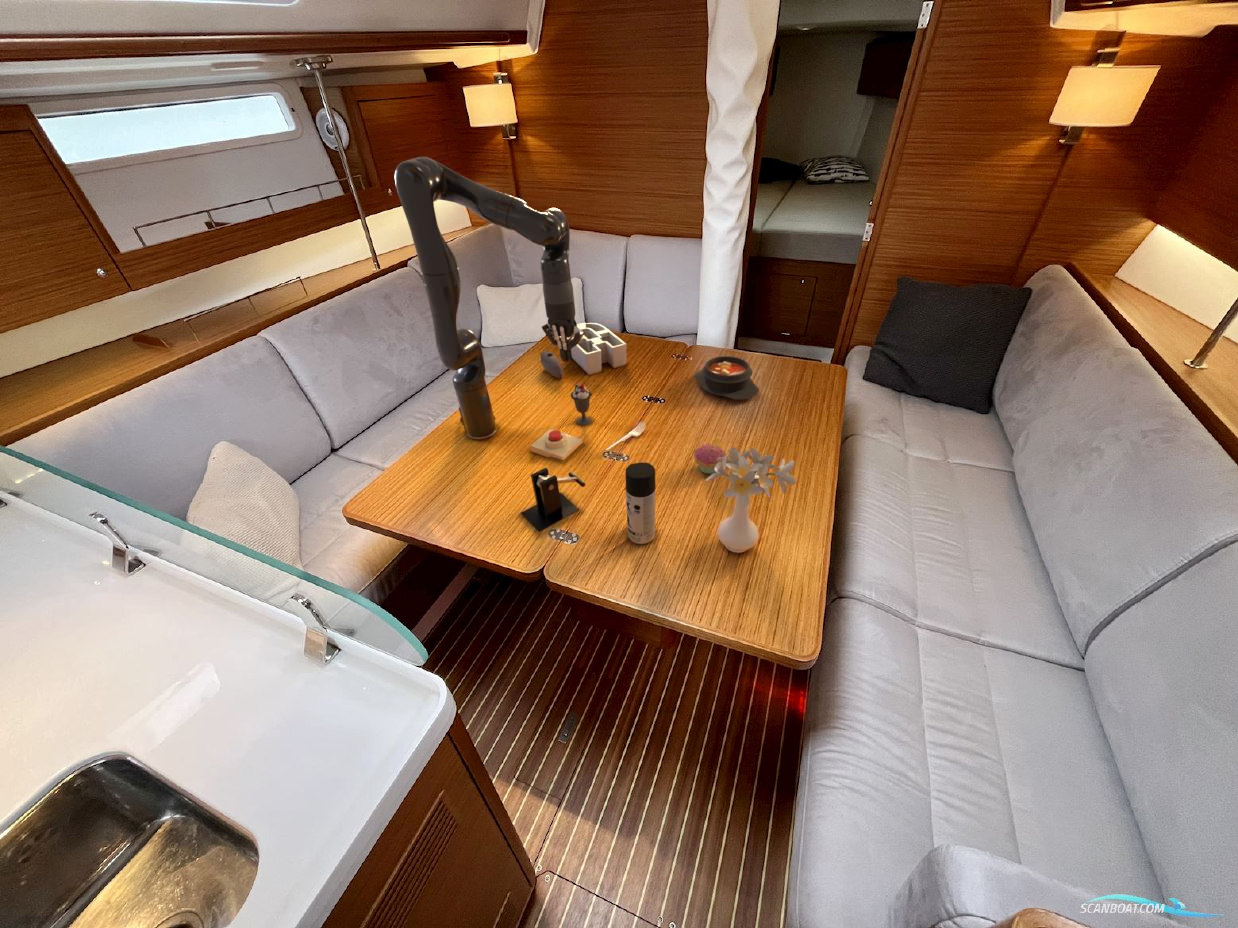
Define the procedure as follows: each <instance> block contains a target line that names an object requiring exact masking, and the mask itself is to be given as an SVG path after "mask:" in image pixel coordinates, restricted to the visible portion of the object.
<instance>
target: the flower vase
mask: <svg viewBox="0 0 1238 928" xmlns="http://www.w3.org/2000/svg"><path fill="white" fill-rule="evenodd" d="M725 454H726V455H725V457H720V458H717V462H718V463H717V464H716V466H715V471H716V472H715V473H712V474H709V476H708V477H707V478H706V479H705V482H708V483H709V482H710V481H711V482H712V481H713V480H715V479H719V478H722V477H727V479H728V480H729V482H730V484H732V486H731V487H729V488H728V489H726V490H725V492H724V494H723V495H724V497H725V498H728V499H731V498H734V497H735V501H734V507H733V512H732V513H731V515H730V516H728V517H726V518H724V519H723V520H722V521H721V522H720V523H719V525H718V527H717V531H716V532H717V538H718V539H719V541H720V543H721V544H722V545H723V546H724V547H725V548H726V549H727V550H728V551H730V552H732V553H736V554H737V553H738V554H740V553H744V552H746V551H748V550H750V549H752V548H754V546H755V545H757V543H758V541H759V537H760V533H759V528H758V526H757V525H756V523H754V522H753V520H752V519H750V516H749V515H750V514H749V513H750V512H749V511H750V501H751V496H752V495H754V496H758V495H761V494H763V492H764V493H765V495H766V496H767V498H771V492H770V489H769V488H772V487H774V482H773V480H772V478H770V477H768V476H775V477H776V481H777V482H778V483H779V486H780V489H781V493H782V494H786V492H787V485H790V486H795V485H796V482H797V481H796V478H795V477H794V476H793V475H792V474H791V473H790V472H791V471H792V470H793V469H794V467H795V463H796V462H795V460H790V461H789V462H788V463H787V464H786V460H785V459H784V458H782V459H781V461H780V465H779V466H777V465H775V464H774V463H773V464H772V462H773V461H774V459H775V457H774V456H773V455H772V454H765V455H763V456H761V455H760V452H759V451H757V449H756V448H754V447H750V450H745V451H743V452H742V453H741V454H740V452H739V449H738V448H737V447H735V446H733V447H731V448H730V449H729V451H728V453H727V452H725ZM728 456H729V457H728ZM747 458H748V459H749V460H750V461H751V463H753V464H750V465H749V460H748V459H747ZM721 463H722V464H721ZM768 469H771V470H777V471H776V472H768ZM730 470H731V471H733V472H734V473H732V472H731V473H727V471H730Z"/></svg>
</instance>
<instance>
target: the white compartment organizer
mask: <svg viewBox="0 0 1238 928" xmlns="http://www.w3.org/2000/svg"><path fill="white" fill-rule="evenodd" d="M577 327H578V328H579V329H580V330H584V332H585V334H584V335H583V337H582V338H581V340H580V341H579V343H578V344H577V345H576V346H574V347H573V348H572V349H571V354H572V358H571V359H573V360H574V362H576V364H578V366H579V367H580V368H582V370H583V371H585V373H586V374H587V375H593V374H598V373H601V372H602V369H603V368H602V367H603V366H602V364H606V363H608V365H610V366H611V367H612V368H614V369H615V368H619V367H624V366H626V365H627V343H626V342H625V341H624V340H622V339H621V338H620V337H618V336H617V335H616V334H614V333H613V331H611V330H610V329H608V328H607V327H605V326H604V325H603V324H600V323H596V322H582V323H577ZM572 335H574V332H573V334H572ZM573 338H574V336H573ZM573 338H572V339H573Z"/></svg>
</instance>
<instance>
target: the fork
mask: <svg viewBox="0 0 1238 928" xmlns="http://www.w3.org/2000/svg"><path fill="white" fill-rule="evenodd" d="M647 426H648V425H647V423H645V422H642V421H640V422H639V423H638V424H637V425H636V426H635V427H634V428H633V429H632V430H630V431H629V432H628V433H627V434H626V435H625V436H623V437H621V438H620V439H619V440H617V441H616V442H614V443H613V444H611V445H610V446H609V447H607V448H606V449H605V450H606V451H608V450H610V449H612V448H613V447H615V446H617V445H618V444H619V443H621V442H624V441H626V440H628V439H629V438H630V437H639V436H640V435H642V433H643V432H644V431H645V429H646V427H647Z"/></svg>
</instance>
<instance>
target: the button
mask: <svg viewBox="0 0 1238 928" xmlns="http://www.w3.org/2000/svg"><path fill="white" fill-rule="evenodd" d="M553 430H554V429H553ZM561 432H562V431H560V430H558V429H557V430H554V431H551V432H550V433H549V439H550V441H552V442H557V441H559V440H561V439H562V437H561Z"/></svg>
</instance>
